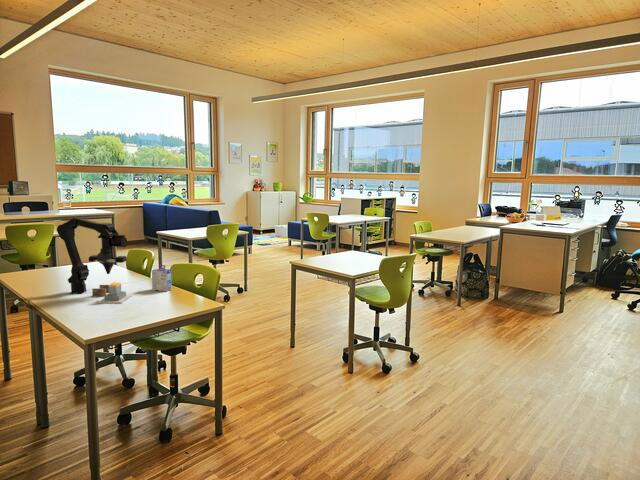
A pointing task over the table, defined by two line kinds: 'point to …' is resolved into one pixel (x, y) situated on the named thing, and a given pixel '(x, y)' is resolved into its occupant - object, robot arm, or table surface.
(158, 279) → the ink cartridge box
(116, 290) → the plug
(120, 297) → the dock
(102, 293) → the wooden blocks
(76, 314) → the table surface
